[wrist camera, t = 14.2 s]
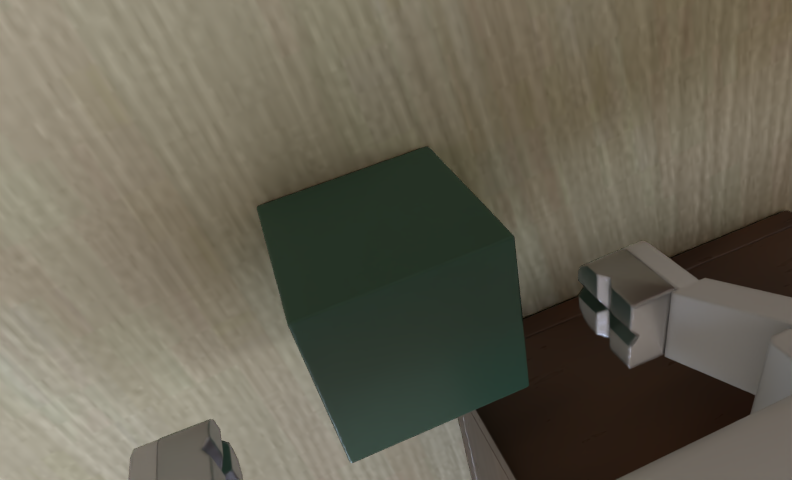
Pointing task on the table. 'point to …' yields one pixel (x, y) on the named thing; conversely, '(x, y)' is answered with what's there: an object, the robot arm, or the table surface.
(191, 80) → the table surface
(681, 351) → the robot arm
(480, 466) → the cabinet
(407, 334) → the block
